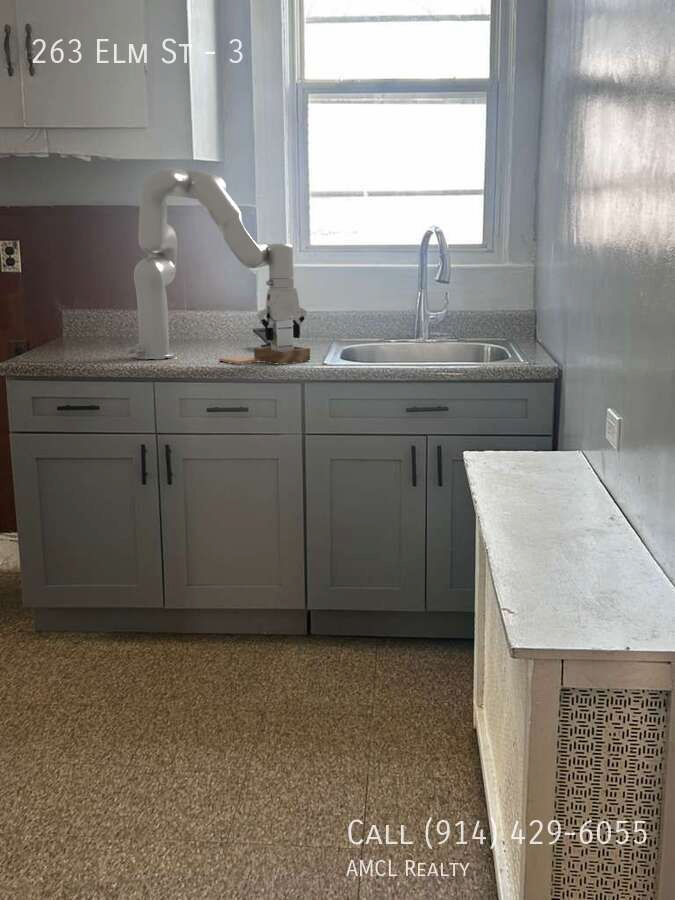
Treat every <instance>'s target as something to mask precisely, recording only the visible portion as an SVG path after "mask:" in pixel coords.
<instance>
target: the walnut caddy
mask: <svg viewBox="0 0 675 900" xmlns="http://www.w3.org/2000/svg"><path fill="white" fill-rule="evenodd" d="M293 347H294V350H288V351H274V350H271V346H270V347H262V348H261V347H256V348H255V347H254V348H253V350H254V351H253V354H254V355H253V357H254V358H259V359H261V361H265V362H271V363H278V364H284V363H292V364H294V363H293V362H300V363H302V362H301V361H307V362H309V361H308V360H310V361H311V348H309V347H302V346H297V345H296V346H294V345H293Z"/></svg>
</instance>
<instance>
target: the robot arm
mask: <svg viewBox="0 0 675 900" xmlns="http://www.w3.org/2000/svg"><path fill="white" fill-rule="evenodd" d="M168 197H181V198H187V199H188V198H189V199H194V200H197V201H198V202H199V204H200V205H201V206H202V208H203V209H204V210H205V212H206V213H207V214H208V215H209V217H210V218H211V219H212V221H213V222H214V224H215V225H216V226H217V228H218V230H219V232H220V234H221V236H222V237H223V240H224V242H225V244H226V245H227V247H228V248H229V249H230V251H231V252H232V253H233V254H234V256H235V258H236V259H237V260H238V261H239V262H240V263H241V264H242V265H243V266H245V267H246V268H248V269H258V268H263V267H268V276H269V277H268V280H266V282H265V284H266V286H269V288H267V292H266V293H267V294H266V300H265V308H264V309H263V310H261V311H260V312H258V313H257V318H258V319H259V323H260V324H261V325H262V326H263V328H265V336H266V340H269V342H270V341H273V328H271V326H272V325H273V323H274V322H275V321H285V320H290V317H291V316H293V339H300V335H301V325H302V323H303V321H304V320H305V317H306V315H307V312H308V311H307V310H306V309H304V308H302V307H301V306H300V301H299V300H300V299H299V294H298V290H297V287H295V285H294V282H295V280H294V278H295V277H294V249H293V245H292V244H290V243H285V242H284V243H279V242H278V243H266V242H256V241H255V240H254V239H253V238H252V237H251V235H250V233H249V232H248V231H247V229H246V228H245V226H244V223H243V221H242V212H241V210H240V208H239V206H238V205H237V203H235V201H234V200H233V199H232V198H231V196H230V195H229V193H227V184H226V182H225V180H224V179H223V178H222V176H219V175H217V174H213V173H207V172H198V171H193V170H187V169H184V168H183V169H182V168H177V167H176V168H175V167H161V168H158V169H155V170H154V171H152V172H151V173H149V174H148V175H147V176H146V177H145V178H144V179H143V181H142V184H141V187H140V193H139V217H138V219H139V220H138V238H137V239H138V244H139V247H140V249H141V250H142V251H143V252H146V253H148V257H146V258H144V259H141V260H140V261H139V262H137V264H136V266H135V267H134V271H133V281H134V287H135V292H136V306H137V325H138V327H137V329H138V343H135V346H132V347H126V349H125V352H126V354H128V355H129V354H131V355H132V354H134V358H135V359H136V360H137V359H139V360H148V359H155V360H166V359H165V358H168V359H171V358H174V357H175V353H174V352H173V351H170V336H169V335H170V334H169V330H170V329H169V309H168V296H167V291H166V286H168V285H171V283H172V282H173V281H174V279H175V277H176V273H177V253H178V237H177V233H176V231H175V230H174V227H172V226H171V225H170V224H168V218H167V217H168V206H167V198H168ZM265 317H266V319H265Z"/></svg>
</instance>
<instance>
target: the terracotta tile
mask: <svg viewBox="0 0 675 900" xmlns="http://www.w3.org/2000/svg"><path fill="white" fill-rule="evenodd" d="M219 361H223V362H222V363H224V362H231V363H237V364H242V363H249V362H257V361H261V359H259V358H254V356H249V355H236V356H227V357H219V358H218V362H219ZM231 363H230V364H231ZM237 364H236V365H237ZM242 365H243V364H242Z"/></svg>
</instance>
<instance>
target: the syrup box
mask: <svg viewBox="0 0 675 900" xmlns="http://www.w3.org/2000/svg"><path fill="white" fill-rule="evenodd" d="M293 325H294V323H293V316H291V317H290V320H285V321H275V322H274V323H273V325H272V326H271V328H273V341H271V350H274V351H288V350H294V347H293V346H294V338H293Z"/></svg>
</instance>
